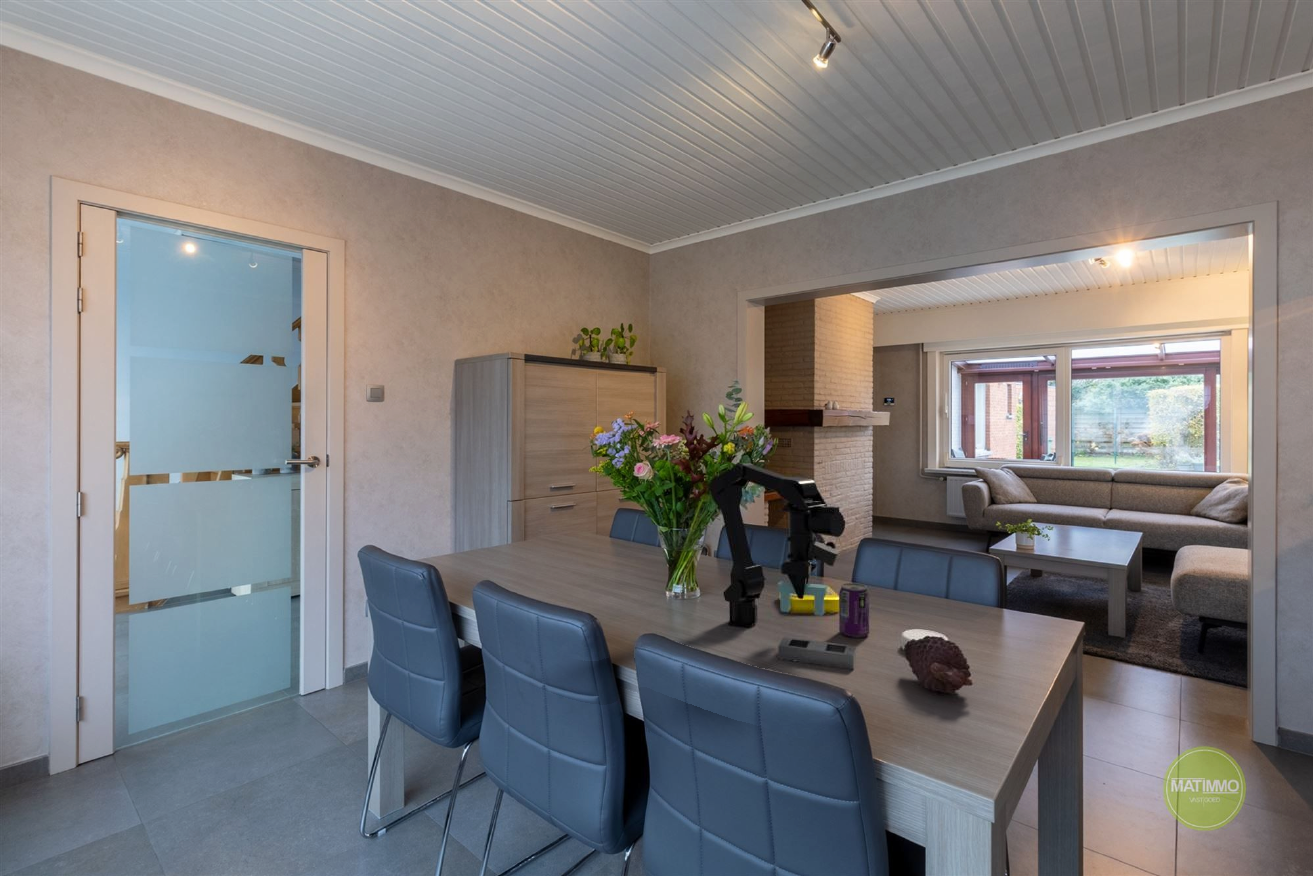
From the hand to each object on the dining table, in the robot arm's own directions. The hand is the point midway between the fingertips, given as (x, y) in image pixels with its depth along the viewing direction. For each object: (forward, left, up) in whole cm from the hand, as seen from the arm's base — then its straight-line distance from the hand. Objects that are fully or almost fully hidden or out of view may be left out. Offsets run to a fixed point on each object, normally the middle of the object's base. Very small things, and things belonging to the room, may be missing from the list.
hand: (802, 596), depth 144 cm
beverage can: (+11, +11, -11) cm, 19 cm away
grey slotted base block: (+5, -9, -11) cm, 15 cm away
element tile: (-4, +32, -12) cm, 34 cm away
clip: (0, 0, -4) cm, 4 cm away
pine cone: (+29, -15, -11) cm, 34 cm away
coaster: (+27, +6, -12) cm, 30 cm away
